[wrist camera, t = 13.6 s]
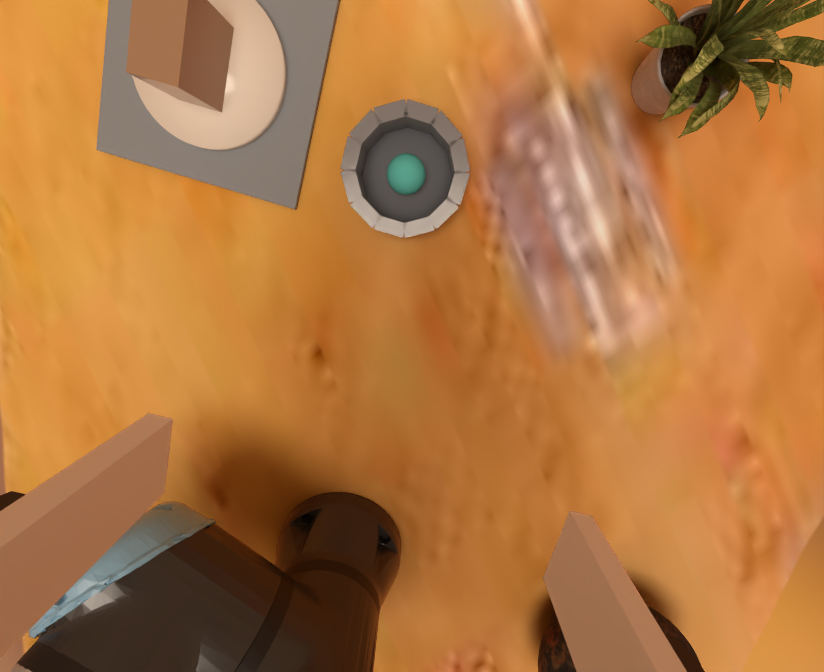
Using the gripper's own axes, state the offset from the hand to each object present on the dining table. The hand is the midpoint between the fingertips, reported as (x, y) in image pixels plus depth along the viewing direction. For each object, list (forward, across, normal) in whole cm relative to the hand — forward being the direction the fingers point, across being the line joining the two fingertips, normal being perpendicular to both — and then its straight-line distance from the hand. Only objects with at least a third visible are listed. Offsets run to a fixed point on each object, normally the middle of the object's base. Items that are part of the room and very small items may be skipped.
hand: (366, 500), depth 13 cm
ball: (+31, +3, -14) cm, 34 cm away
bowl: (+32, +3, -14) cm, 34 cm away
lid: (+31, +23, -18) cm, 43 cm away
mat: (+32, +23, -18) cm, 43 cm away
